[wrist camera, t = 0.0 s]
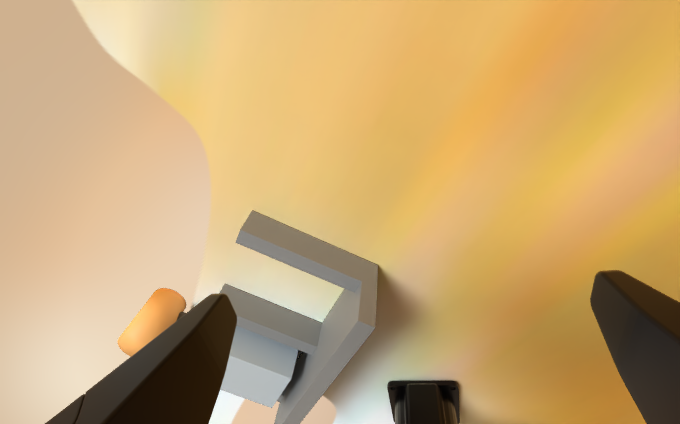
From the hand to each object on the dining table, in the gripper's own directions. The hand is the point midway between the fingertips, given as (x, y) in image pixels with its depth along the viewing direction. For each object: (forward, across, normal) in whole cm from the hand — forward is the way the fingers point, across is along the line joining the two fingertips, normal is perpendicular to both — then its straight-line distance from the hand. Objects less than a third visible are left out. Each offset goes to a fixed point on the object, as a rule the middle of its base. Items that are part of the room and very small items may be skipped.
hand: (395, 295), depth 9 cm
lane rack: (+15, +11, +15) cm, 24 cm away
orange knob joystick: (+15, +17, +16) cm, 28 cm away
